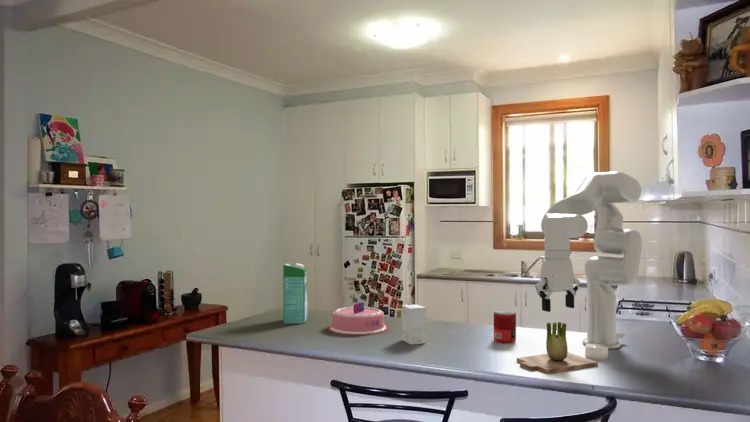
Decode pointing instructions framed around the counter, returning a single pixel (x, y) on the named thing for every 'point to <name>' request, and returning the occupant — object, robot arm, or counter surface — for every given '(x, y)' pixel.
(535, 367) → the board
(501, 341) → the canned food
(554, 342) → the fennel bulb
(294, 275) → the milk carton
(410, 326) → the small box
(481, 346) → the counter surface
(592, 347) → the white rounded block
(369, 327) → the cake
